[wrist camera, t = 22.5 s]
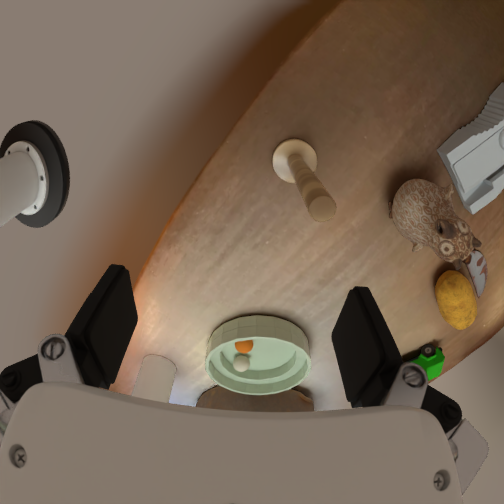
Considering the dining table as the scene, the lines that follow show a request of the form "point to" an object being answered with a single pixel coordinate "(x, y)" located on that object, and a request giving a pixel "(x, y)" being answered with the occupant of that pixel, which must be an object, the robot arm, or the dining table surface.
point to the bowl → (259, 355)
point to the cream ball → (241, 363)
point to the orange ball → (244, 346)
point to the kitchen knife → (477, 270)
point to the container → (255, 401)
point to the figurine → (432, 220)
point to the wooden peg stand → (303, 177)
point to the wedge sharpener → (478, 155)
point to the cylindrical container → (155, 379)
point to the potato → (456, 299)
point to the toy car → (430, 360)
